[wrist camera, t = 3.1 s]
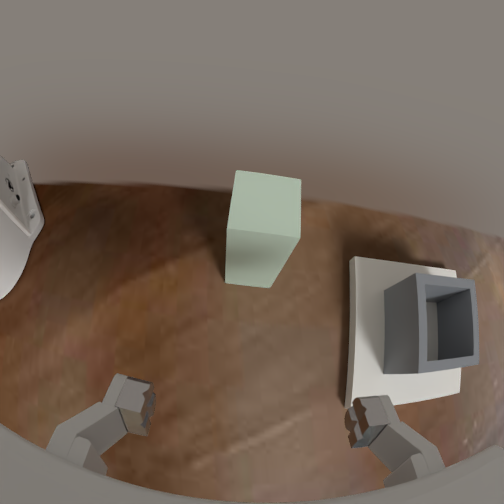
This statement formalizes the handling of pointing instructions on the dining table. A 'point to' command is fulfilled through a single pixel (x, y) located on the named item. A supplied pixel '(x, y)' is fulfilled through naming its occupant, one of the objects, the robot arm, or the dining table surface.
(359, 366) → the well stand
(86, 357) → the dining table surface
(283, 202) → the sage block
